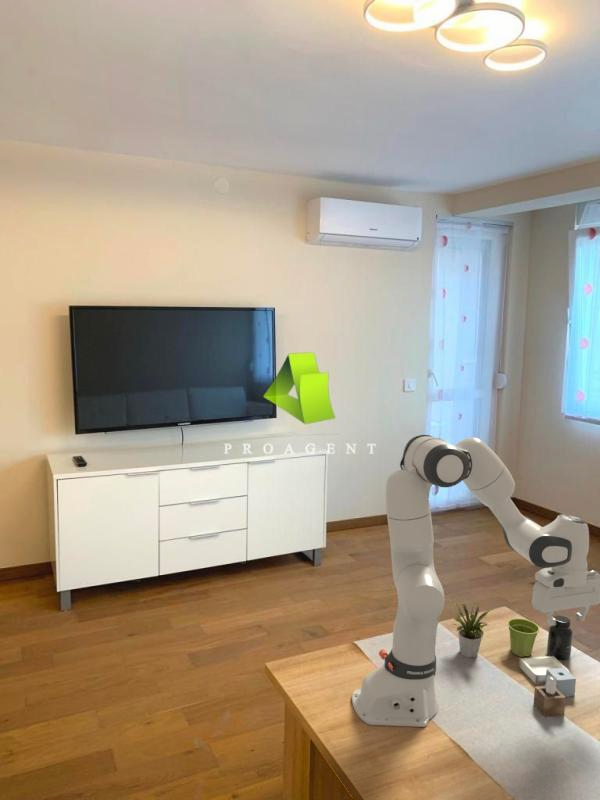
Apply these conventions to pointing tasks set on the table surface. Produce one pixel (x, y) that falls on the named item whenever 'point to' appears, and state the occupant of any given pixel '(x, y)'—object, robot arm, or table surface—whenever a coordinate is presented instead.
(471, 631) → the house plant
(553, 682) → the pin gauge
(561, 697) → the walnut block
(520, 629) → the plant pot
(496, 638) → the table surface
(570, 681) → the slate-blue block
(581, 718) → the table surface
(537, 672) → the off-white tray
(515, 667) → the table surface
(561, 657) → the supplement bottle
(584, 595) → the robot arm
